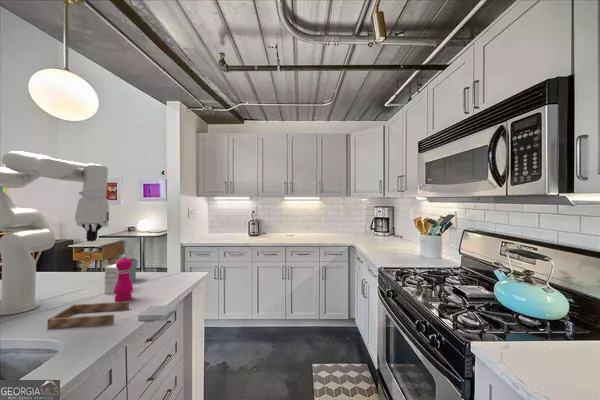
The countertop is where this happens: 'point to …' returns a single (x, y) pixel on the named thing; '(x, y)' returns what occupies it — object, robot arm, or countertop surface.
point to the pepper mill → (123, 280)
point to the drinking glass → (132, 269)
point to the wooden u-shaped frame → (66, 321)
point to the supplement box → (110, 278)
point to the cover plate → (157, 313)
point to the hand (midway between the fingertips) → (91, 240)
